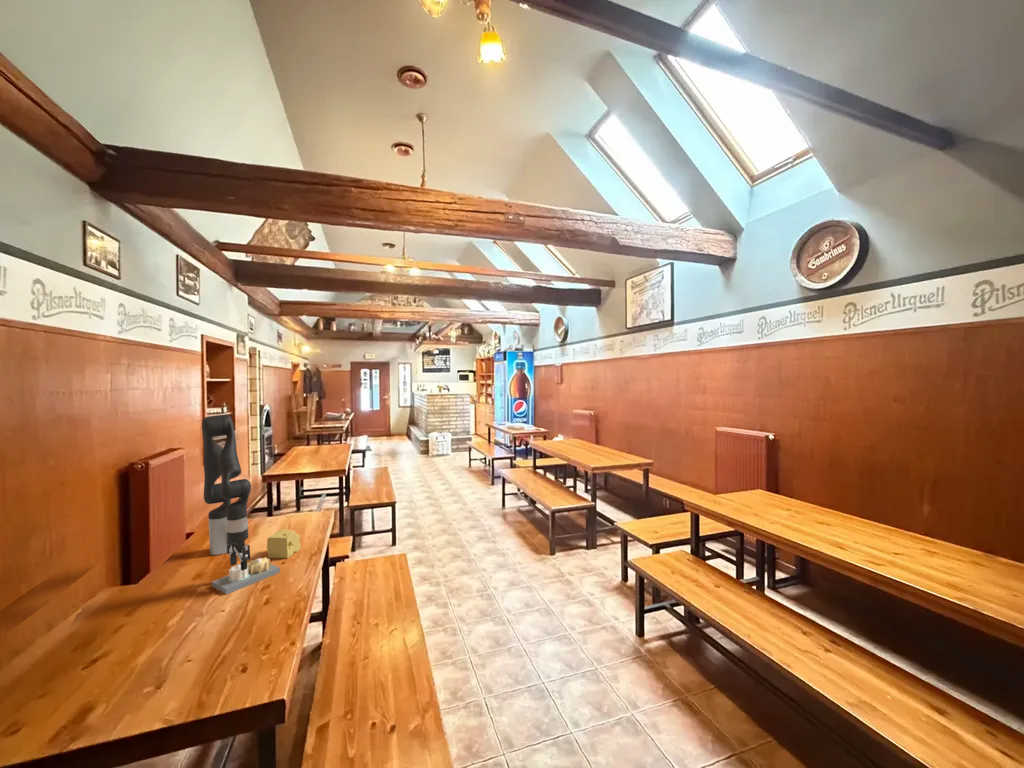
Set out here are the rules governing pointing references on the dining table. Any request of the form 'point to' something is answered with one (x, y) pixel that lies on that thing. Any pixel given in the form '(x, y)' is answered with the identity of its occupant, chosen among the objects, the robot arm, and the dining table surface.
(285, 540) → the cheese
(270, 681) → the dining table surface
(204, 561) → the dining table surface
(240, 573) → the nylon gear
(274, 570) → the gear board
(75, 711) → the dining table surface
